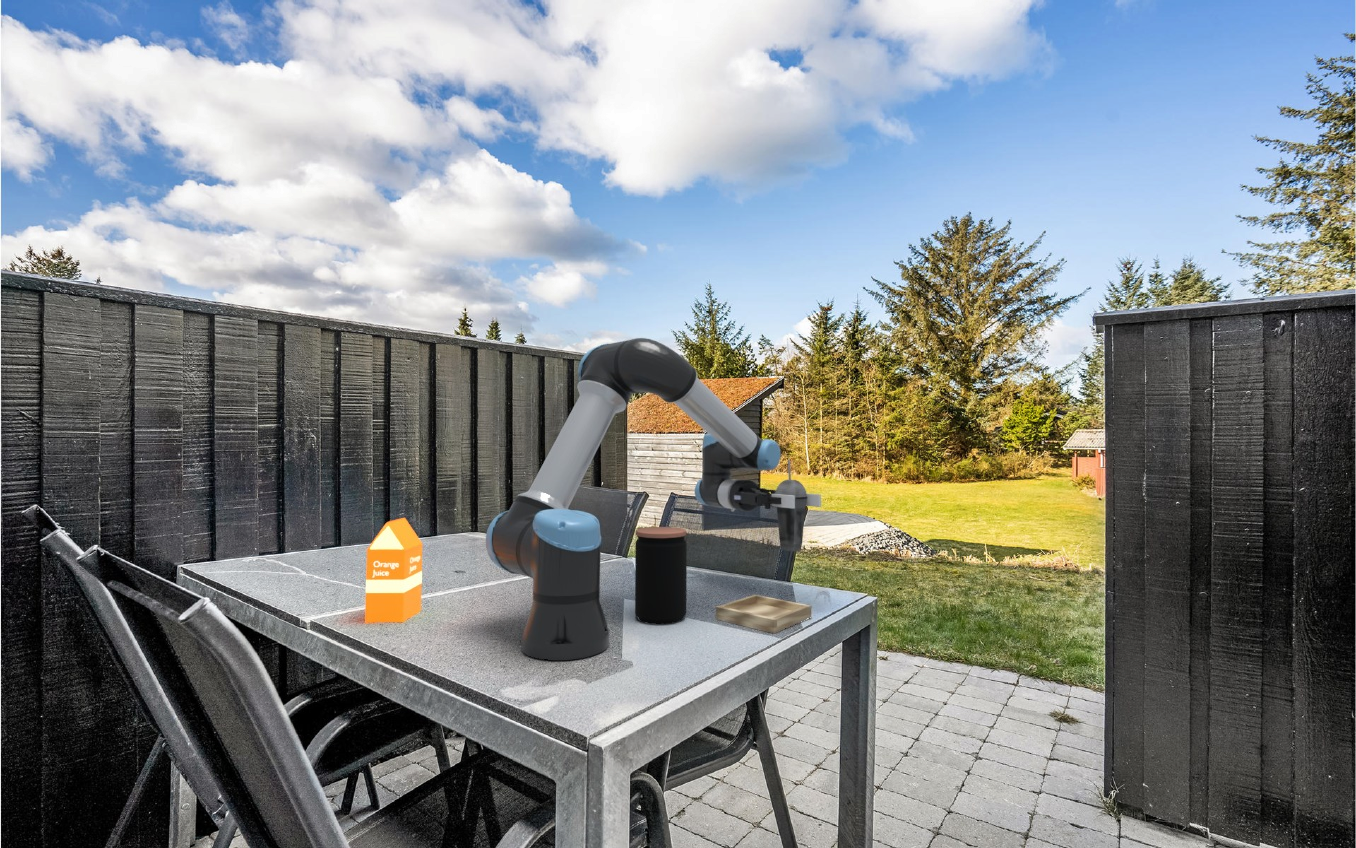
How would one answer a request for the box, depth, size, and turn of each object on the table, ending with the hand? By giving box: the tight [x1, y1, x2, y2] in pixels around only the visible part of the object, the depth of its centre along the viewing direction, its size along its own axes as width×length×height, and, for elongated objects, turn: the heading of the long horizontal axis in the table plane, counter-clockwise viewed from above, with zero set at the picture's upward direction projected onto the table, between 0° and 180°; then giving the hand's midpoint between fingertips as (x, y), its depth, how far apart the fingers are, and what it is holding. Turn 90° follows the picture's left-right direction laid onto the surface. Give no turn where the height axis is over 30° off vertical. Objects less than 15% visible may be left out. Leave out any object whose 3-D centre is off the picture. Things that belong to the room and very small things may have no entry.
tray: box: [715, 594, 812, 634], centre depth 120 cm, size 14×14×2 cm
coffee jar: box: [634, 526, 688, 625], centre depth 121 cm, size 11×11×18 cm
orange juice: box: [364, 517, 423, 624], centre depth 121 cm, size 8×9×20 cm
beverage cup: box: [775, 459, 807, 552], centre depth 130 cm, size 7×7×20 cm
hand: (806, 501), depth 126 cm, fingers closed on beverage cup, 7 cm apart
